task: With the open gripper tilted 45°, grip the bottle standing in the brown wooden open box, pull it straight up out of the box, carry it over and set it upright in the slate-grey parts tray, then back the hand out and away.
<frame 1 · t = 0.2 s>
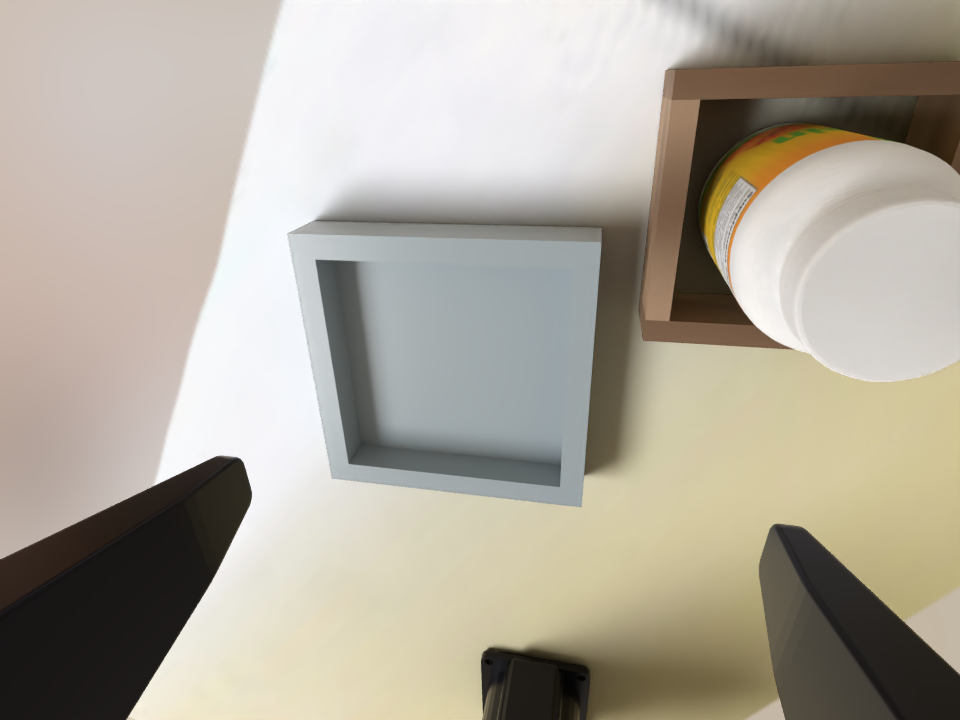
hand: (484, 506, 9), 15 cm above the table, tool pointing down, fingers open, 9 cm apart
supplement bottle: (774, 201, 20), resting in brown wooden open box
parts tray: (456, 356, 25), on the table
brown wooden open box: (776, 203, 20), on the table
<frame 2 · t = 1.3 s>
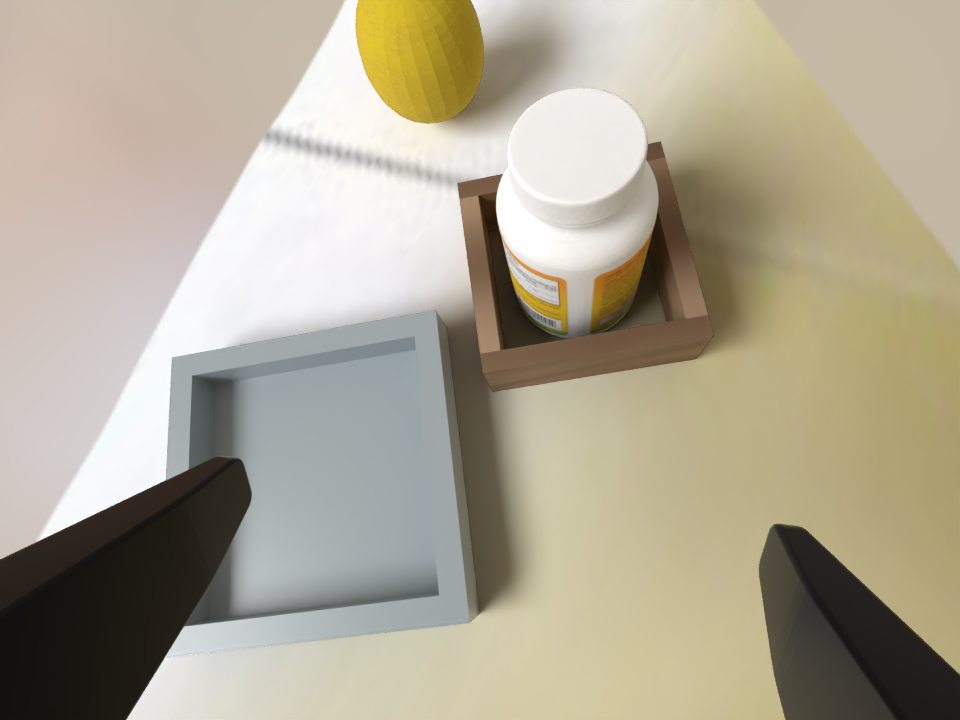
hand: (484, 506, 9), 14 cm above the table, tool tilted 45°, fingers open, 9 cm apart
supplement bottle: (574, 286, 25), resting in brown wooden open box
parts tray: (326, 479, 24), on the table
brown wooden open box: (574, 284, 25), on the table
lemon: (442, 114, 29), on the table
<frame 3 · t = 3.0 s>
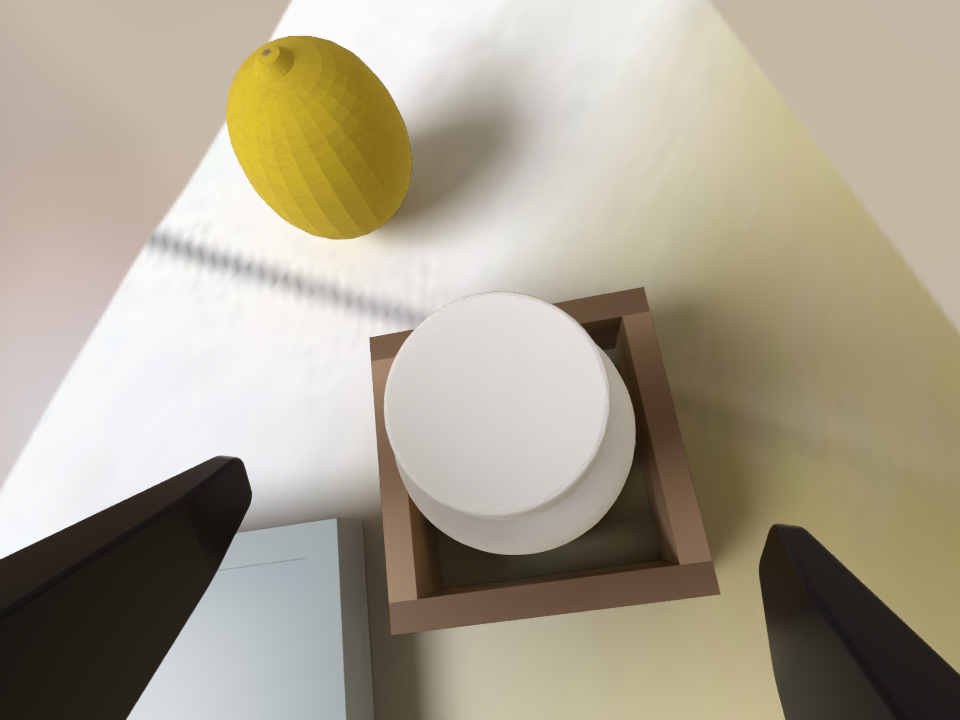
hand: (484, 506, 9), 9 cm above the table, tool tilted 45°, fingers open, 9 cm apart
supplement bottle: (532, 464, 19), resting in brown wooden open box
brown wooden open box: (531, 463, 19), on the table
lemon: (369, 216, 23), on the table
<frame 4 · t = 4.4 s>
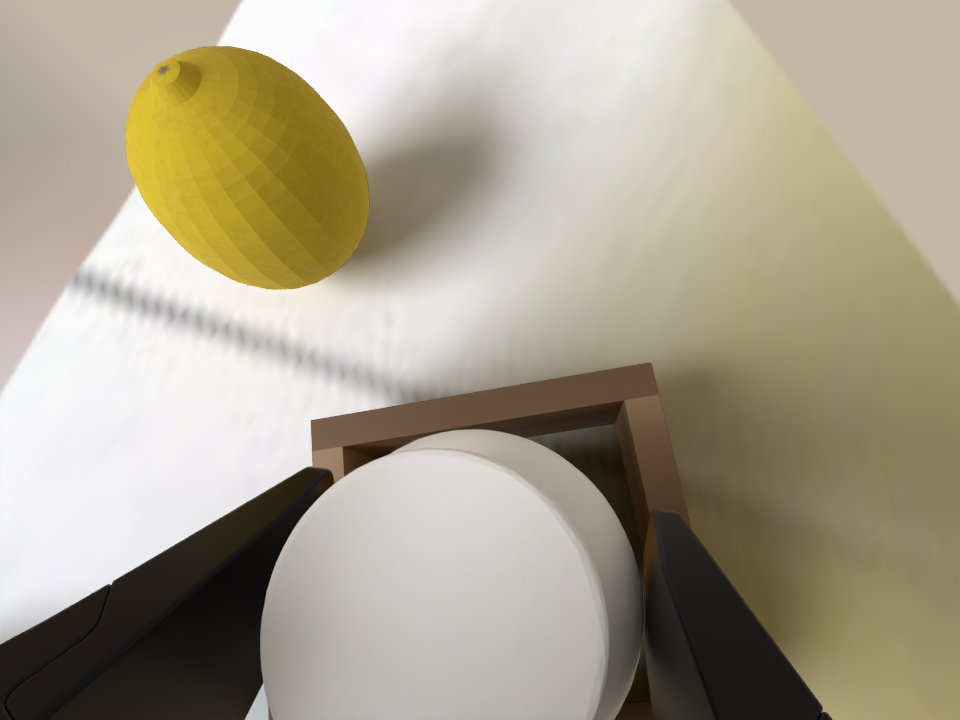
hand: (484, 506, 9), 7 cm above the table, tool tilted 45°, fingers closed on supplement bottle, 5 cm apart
supplement bottle: (514, 567, 15), resting in brown wooden open box, touching gripper
brown wooden open box: (513, 568, 15), on the table
lemon: (325, 253, 19), on the table
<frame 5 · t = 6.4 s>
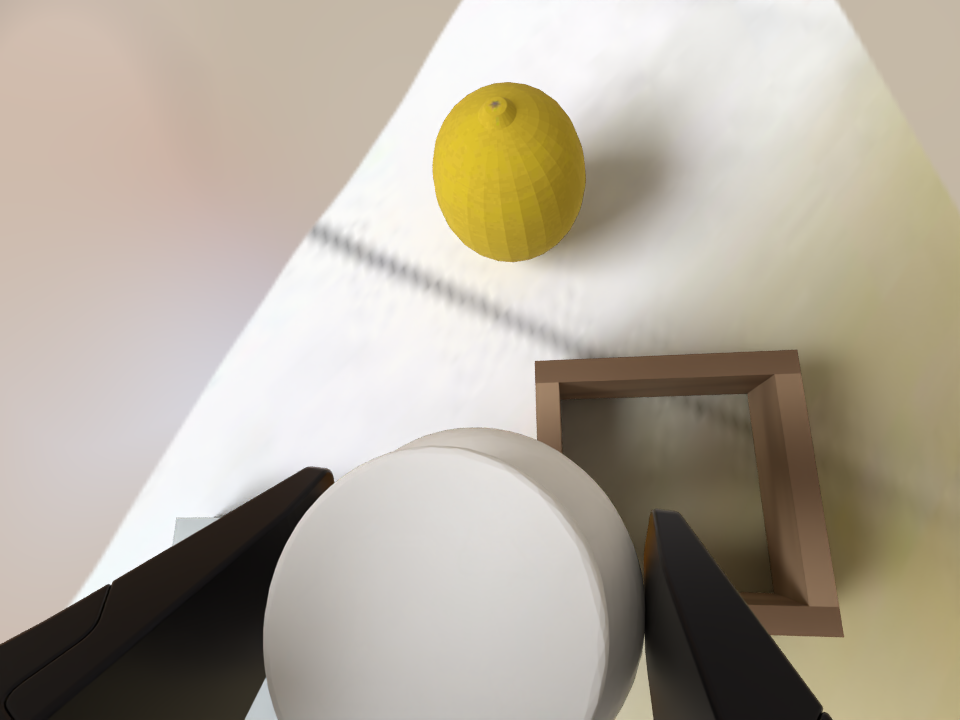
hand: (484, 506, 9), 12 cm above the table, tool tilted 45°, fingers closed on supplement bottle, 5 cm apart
supplement bottle: (518, 565, 15), point 5 cm above the table, touching gripper
parts tray: (339, 686, 20), on the table
brown wooden open box: (659, 489, 21), on the table
lemon: (519, 235, 24), on the table
when the fingers open (9 cm above the table, at t = 8.3 s): supplement bottle drops 1 cm, resting on parts tray.
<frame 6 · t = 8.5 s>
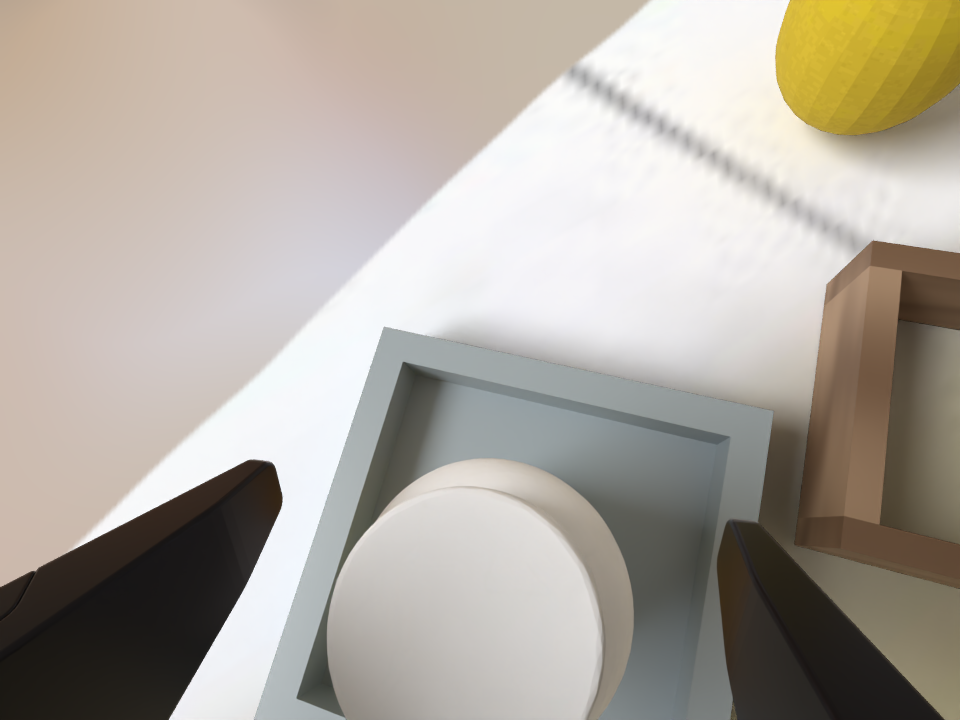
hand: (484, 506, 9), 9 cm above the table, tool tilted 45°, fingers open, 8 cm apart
supplement bottle: (519, 568, 17), resting on parts tray
parts tray: (521, 562, 18), on the table
lemon: (823, 120, 21), on the table
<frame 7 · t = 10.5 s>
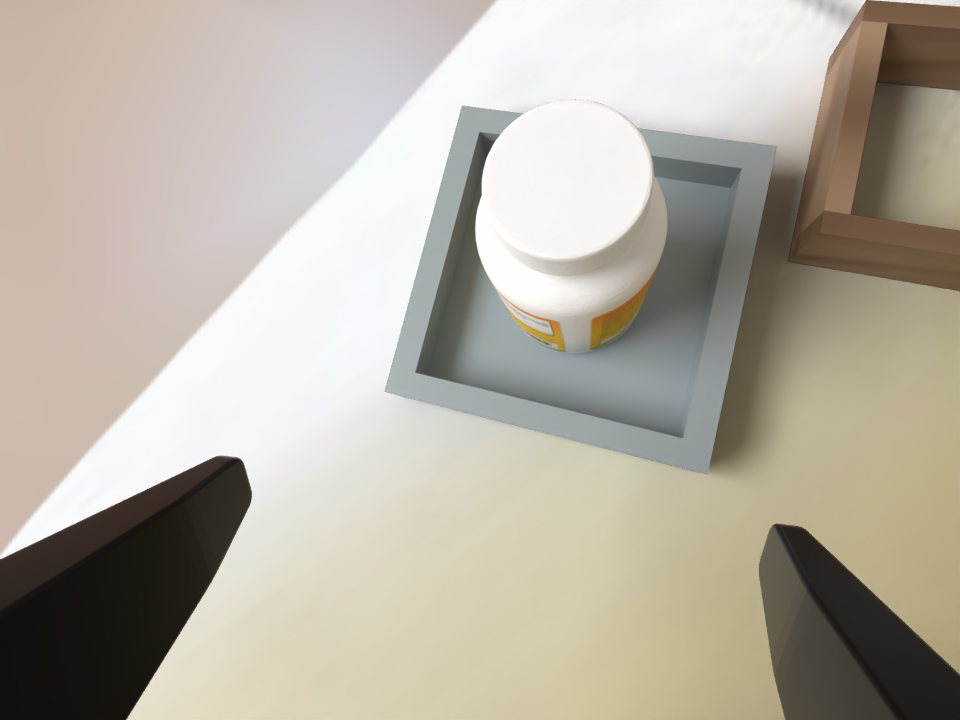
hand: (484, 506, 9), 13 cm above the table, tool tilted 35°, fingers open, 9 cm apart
supplement bottle: (573, 290, 22), resting on parts tray
parts tray: (574, 289, 23), on the table
brown wooden open box: (932, 174, 21), on the table
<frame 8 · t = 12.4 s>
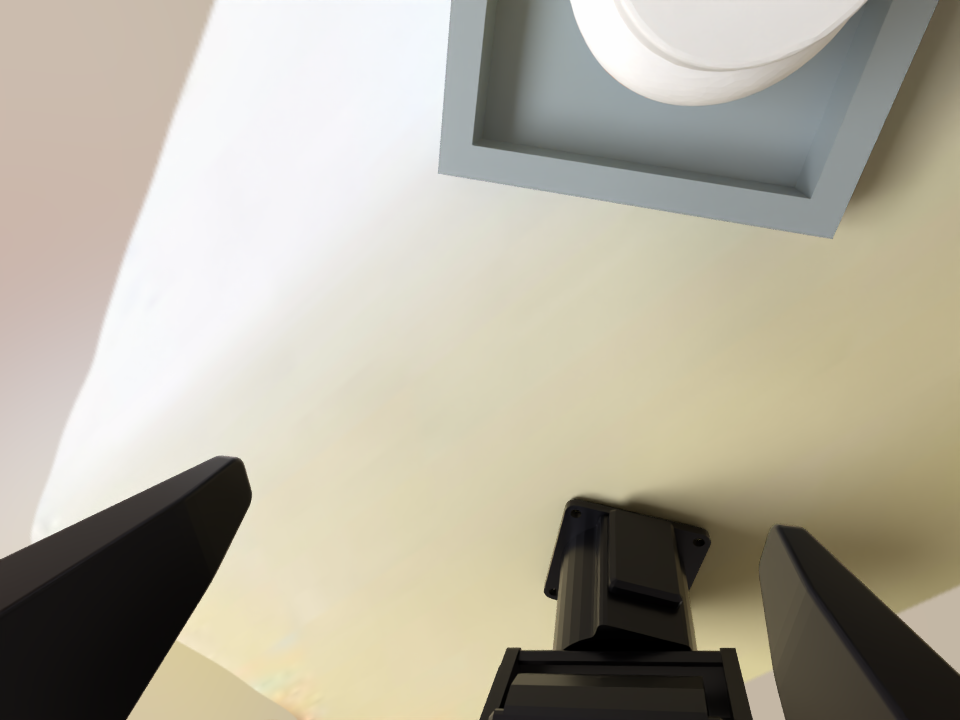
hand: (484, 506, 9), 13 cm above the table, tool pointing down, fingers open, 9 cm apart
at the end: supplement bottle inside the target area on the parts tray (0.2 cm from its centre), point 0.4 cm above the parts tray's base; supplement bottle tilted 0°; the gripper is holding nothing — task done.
